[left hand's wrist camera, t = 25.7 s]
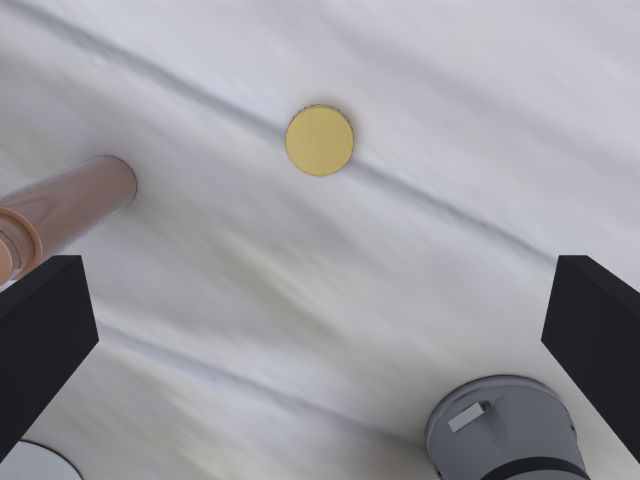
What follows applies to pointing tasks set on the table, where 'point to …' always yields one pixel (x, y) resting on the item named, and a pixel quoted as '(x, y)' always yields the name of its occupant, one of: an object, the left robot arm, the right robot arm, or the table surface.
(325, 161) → the lid
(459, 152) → the table surface
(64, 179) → the jar
